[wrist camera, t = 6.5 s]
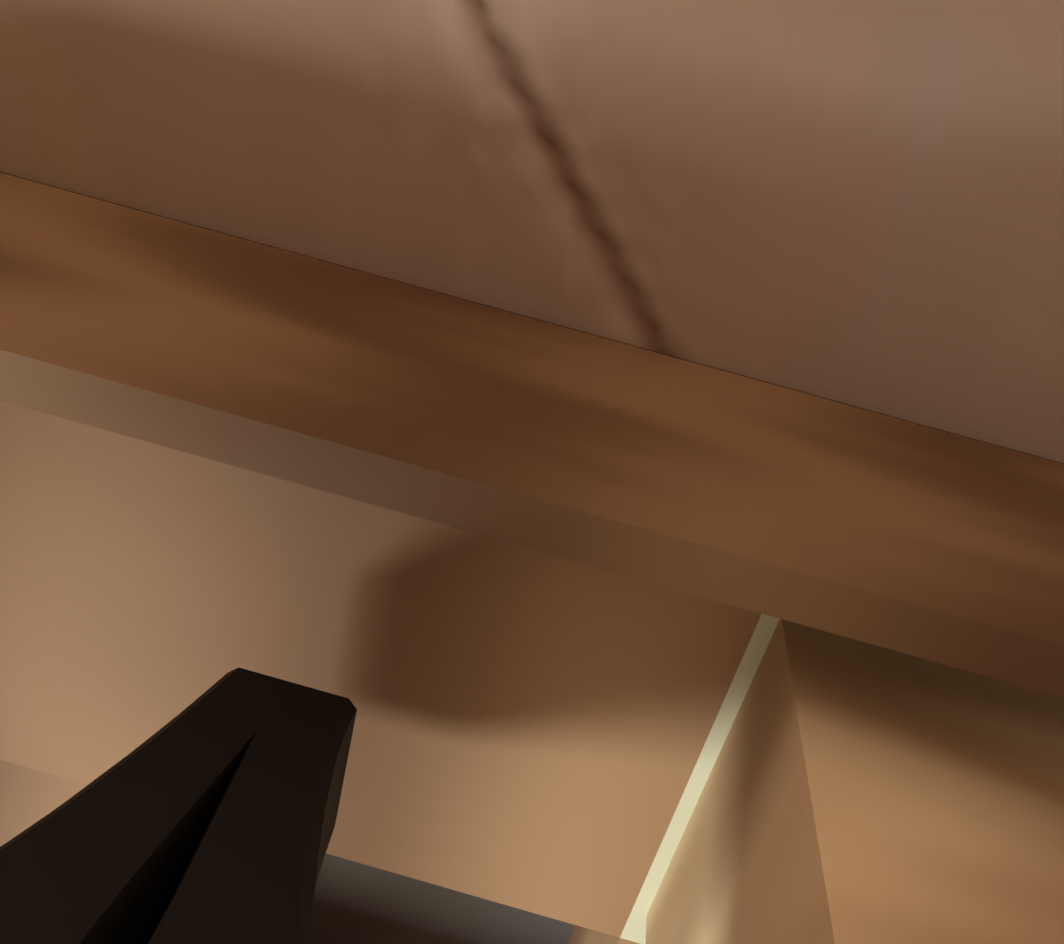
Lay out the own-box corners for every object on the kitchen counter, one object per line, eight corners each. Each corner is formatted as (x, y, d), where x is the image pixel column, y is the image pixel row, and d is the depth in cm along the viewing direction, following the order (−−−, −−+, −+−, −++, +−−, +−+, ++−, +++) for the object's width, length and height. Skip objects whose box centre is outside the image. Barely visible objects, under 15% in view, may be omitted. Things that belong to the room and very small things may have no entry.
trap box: (-140, 827, 19) (-395, 1082, 14) (-258, 101, 12) (-800, 157, 8) (826, 1107, 18) (873, 1459, 14) (1245, 513, 12) (1587, 823, 7)
